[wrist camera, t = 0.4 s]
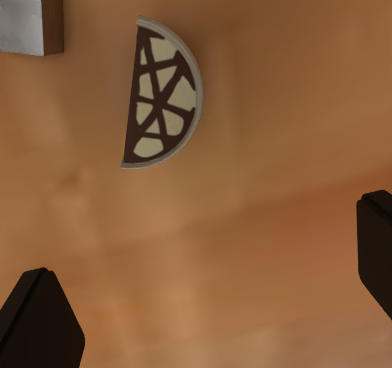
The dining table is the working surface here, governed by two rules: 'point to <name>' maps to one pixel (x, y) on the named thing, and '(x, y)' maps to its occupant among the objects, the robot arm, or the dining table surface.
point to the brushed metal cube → (31, 26)
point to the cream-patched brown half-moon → (161, 97)
